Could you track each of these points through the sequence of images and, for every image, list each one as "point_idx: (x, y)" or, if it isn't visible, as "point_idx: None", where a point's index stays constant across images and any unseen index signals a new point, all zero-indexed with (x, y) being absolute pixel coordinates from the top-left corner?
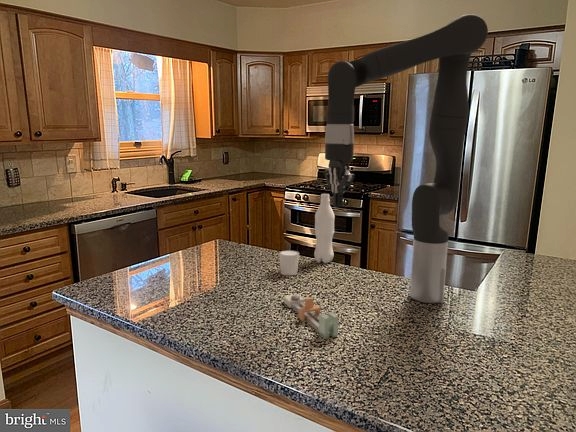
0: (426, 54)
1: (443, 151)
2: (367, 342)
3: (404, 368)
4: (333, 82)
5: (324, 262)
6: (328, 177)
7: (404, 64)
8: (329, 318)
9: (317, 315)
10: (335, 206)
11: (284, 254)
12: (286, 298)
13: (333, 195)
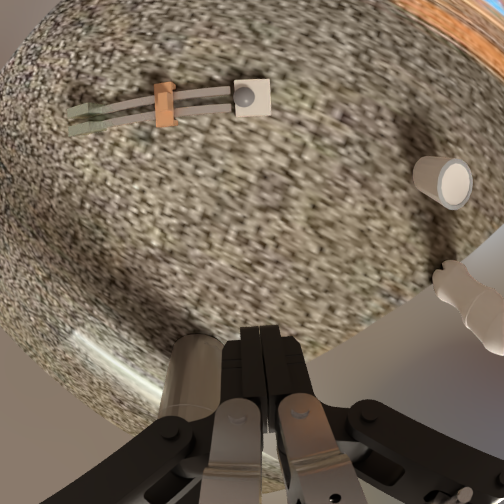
0: None
1: None
2: (62, 176)
3: (9, 195)
4: None
5: (434, 271)
6: (436, 478)
7: None
8: (67, 117)
9: (153, 118)
10: (246, 327)
11: (452, 168)
12: (254, 79)
13: (280, 377)
